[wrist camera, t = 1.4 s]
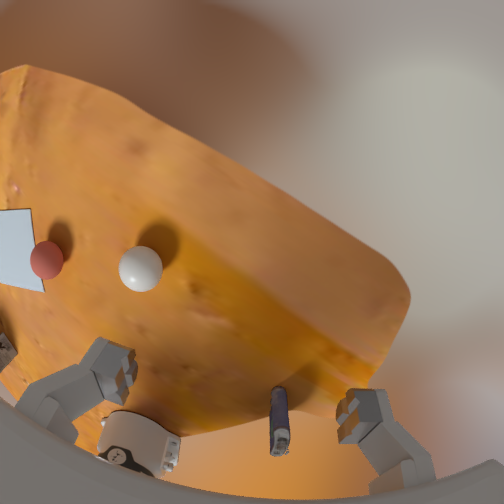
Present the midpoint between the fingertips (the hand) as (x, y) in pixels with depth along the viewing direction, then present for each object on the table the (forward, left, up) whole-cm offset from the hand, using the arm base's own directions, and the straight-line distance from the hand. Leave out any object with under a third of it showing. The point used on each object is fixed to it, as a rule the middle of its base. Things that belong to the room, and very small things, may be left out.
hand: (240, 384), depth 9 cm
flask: (-30, -6, -25) cm, 40 cm away
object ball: (-5, +29, -22) cm, 37 cm away
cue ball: (-5, +13, -22) cm, 26 cm away
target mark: (-5, +41, -25) cm, 48 cm away
